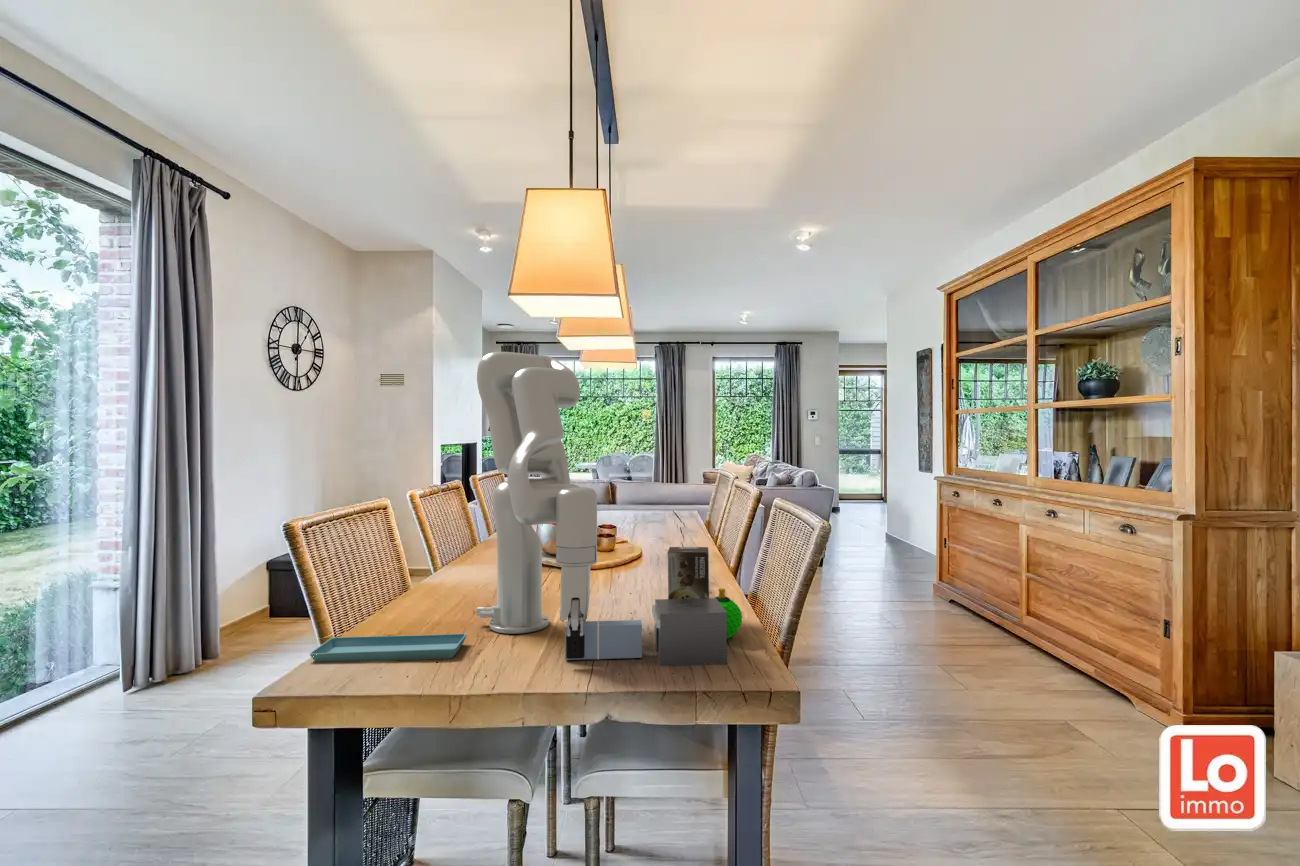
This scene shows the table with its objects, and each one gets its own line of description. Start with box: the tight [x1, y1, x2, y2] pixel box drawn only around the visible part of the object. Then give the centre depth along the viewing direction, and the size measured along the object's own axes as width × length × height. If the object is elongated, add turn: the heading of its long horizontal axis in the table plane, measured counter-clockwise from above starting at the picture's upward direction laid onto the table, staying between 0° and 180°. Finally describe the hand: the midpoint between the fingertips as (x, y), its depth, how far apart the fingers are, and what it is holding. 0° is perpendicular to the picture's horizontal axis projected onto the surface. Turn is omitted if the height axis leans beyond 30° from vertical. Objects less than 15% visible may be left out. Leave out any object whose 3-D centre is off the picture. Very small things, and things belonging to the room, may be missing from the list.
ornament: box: [714, 587, 743, 640], centre depth 124 cm, size 8×8×10 cm
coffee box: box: [667, 546, 710, 599], centre depth 135 cm, size 9×6×16 cm
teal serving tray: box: [309, 633, 468, 662], centre depth 116 cm, size 26×9×2 cm, turn 93°
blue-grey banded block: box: [564, 619, 643, 661], centre depth 113 cm, size 14×3×6 cm, turn 95°
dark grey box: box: [651, 597, 728, 667], centre depth 114 cm, size 13×10×9 cm
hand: (576, 648), depth 112 cm, fingers open, 8 cm apart
